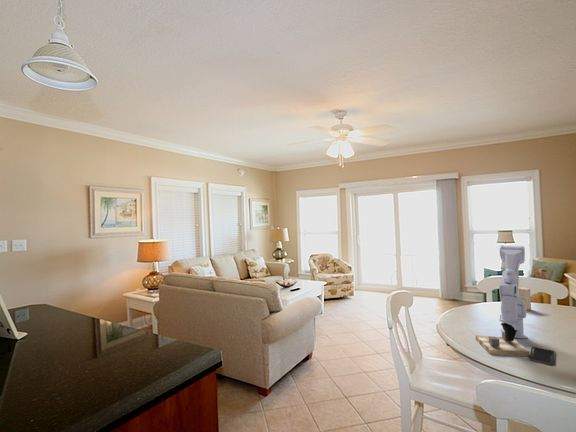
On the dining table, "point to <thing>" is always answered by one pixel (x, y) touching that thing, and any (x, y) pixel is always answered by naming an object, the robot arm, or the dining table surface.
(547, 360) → the phone
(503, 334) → the switch tab
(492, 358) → the dining table surface
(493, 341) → the switch tab
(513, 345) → the switch board
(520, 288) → the supplement box
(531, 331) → the dining table surface
